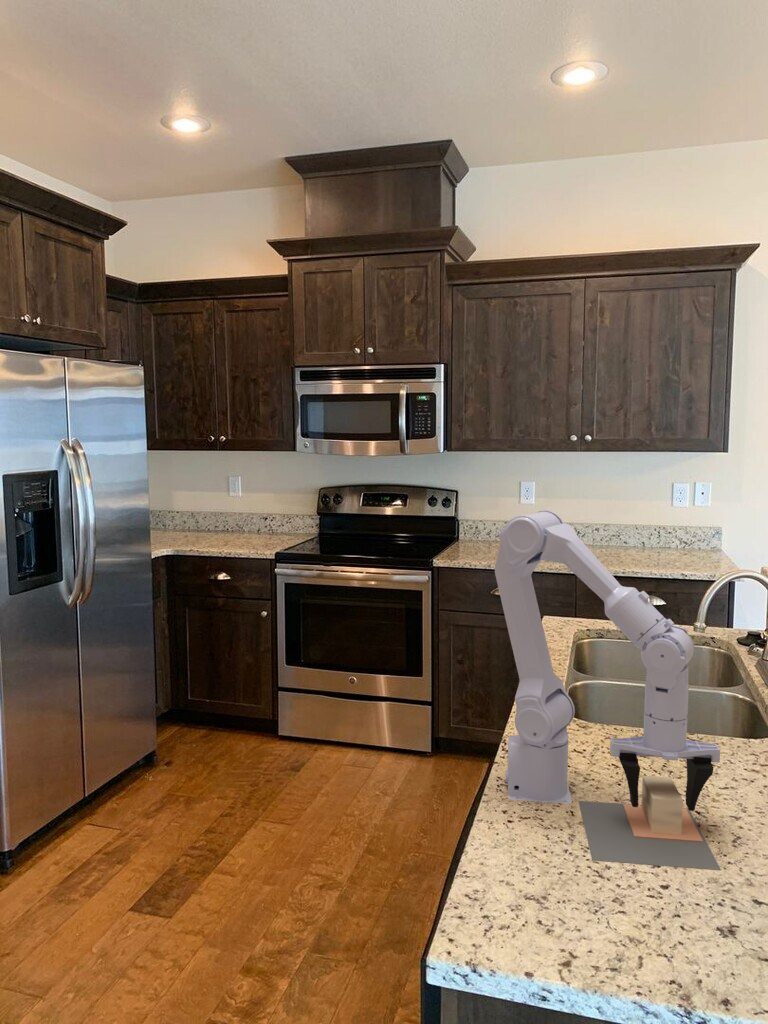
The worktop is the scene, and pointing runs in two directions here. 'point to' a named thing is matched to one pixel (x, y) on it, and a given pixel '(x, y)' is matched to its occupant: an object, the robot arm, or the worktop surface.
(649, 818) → the birch block
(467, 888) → the worktop surface
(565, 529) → the robot arm
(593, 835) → the rubber mat
